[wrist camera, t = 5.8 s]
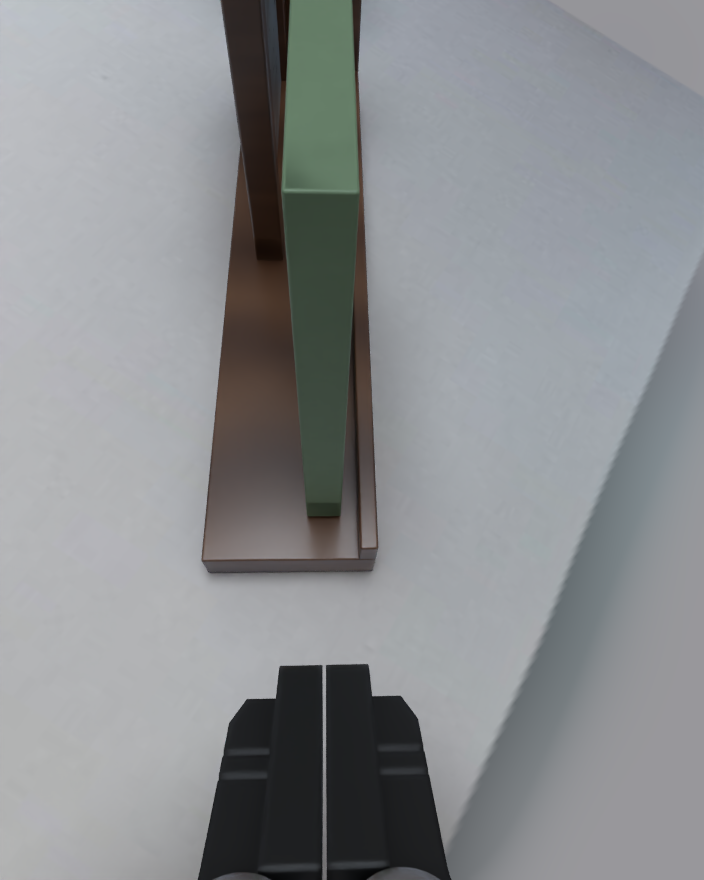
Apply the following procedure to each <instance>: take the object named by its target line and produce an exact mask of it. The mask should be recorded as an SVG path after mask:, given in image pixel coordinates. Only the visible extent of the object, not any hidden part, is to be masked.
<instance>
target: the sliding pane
mask: <svg viewBox="0 0 704 880" xmlns="http://www.w3.org/2000/svg"><path fill="white" fill-rule="evenodd" d="M281 195H282V208H283V220H284V233H285V246H286V258H287V270H288V283H289V296H290V308H291V321H292V334H293V346H294V359H295V372H296V384H297V397H298V410H299V422H300V435H301V448H302V460H303V473H304V486H305V498H306V511H307V516H340V515H341V503H342V486H343V469H344V452H345V434H346V417H347V400H348V383H349V366H350V349H351V332H352V315H353V298H354V281H355V264H356V248H357V231H358V214H359V197H360V187H359V161H358V135H357V110H356V84H355V58H354V32H353V6H352V0H290V10H289V32H288V54H287V76H286V98H285V120H284V142H283V164H282V186H281Z"/></svg>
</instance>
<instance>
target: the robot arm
mask: <svg viewBox="0 0 704 880" xmlns="http://www.w3.org/2000/svg"><path fill="white" fill-rule="evenodd" d="M326 797H327V880H451V878H450V875H449V871H448V868H447V863H446V858H445V853H444V848H443V843H442V838H441V833H440V828H439V823H438V818H437V813H436V808H435V803H434V798H433V793H432V788H431V782H430V777H429V775H428V767H427V762H426V757H425V752H424V751H423V742H422V737H421V732H420V727H419V722H418V718H417V717H416V715H415V714H414V713H413V711H412V710H411V709H410V708H409V706H408V705H407V704H406V702H405V701H404V700H403V698H402V697H401V696H372V691H371V682H370V673H369V665H368V664H351V665H326ZM322 836H323V697H322V665H307V666H280V668H279V676H278V685H277V694H276V699H247V700H246V701H245V703H244V704H243V705H242V707H241V708H240V709H239V711H238V712H237V713H236V715H235V716H234V717H233V719H232V720H231V722H230V723H229V727H228V732H227V737H226V742H225V747H224V756H223V757H222V762H221V767H220V772H219V781H218V783H217V788H216V793H215V798H214V803H213V808H212V813H211V818H210V823H209V828H208V833H207V838H206V843H205V848H204V853H203V858H202V863H201V868H200V873H199V877H198V880H322Z"/></svg>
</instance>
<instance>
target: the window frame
mask: <svg viewBox="0 0 704 880" xmlns="http://www.w3.org/2000/svg"><path fill="white" fill-rule="evenodd" d="M221 6H222V13H223V21H224V28H225V35H226V42H227V49H228V57H229V64H230V71H231V78H232V85H233V93H234V100H235V107H236V114H237V122H238V129H239V136H240V143H241V145H240V156H239V166H238V177H237V188H236V198H235V209H234V219H233V230H232V241H231V251H230V262H229V273H228V283H227V294H226V305H225V315H224V326H223V336H222V347H221V358H220V368H219V379H218V390H217V400H216V411H215V422H214V432H213V443H212V454H211V464H210V475H209V485H208V496H207V507H206V517H205V528H204V539H203V549H202V562H203V564H204V565H205V567H206V568H207V570H208V572H302V571H372V570H373V567H374V563H375V559H376V554H377V550H378V530H377V506H376V483H375V459H374V436H373V412H372V388H371V365H370V341H369V318H368V294H367V271H366V247H365V224H364V200H363V176H362V153H361V129H360V106H359V82H358V62H359V41H360V19H361V0H352V6H353V32H354V58H355V84H356V110H357V135H358V161H359V187H360V197H359V214H358V231H357V248H356V264H355V281H354V298H353V315H352V332H351V349H350V366H349V383H348V400H347V417H346V434H345V452H344V469H343V486H342V503H341V515H340V516H307V511H306V498H305V486H304V473H303V460H302V448H301V435H300V422H299V410H298V397H297V384H296V372H295V359H294V346H293V334H292V321H291V308H290V296H289V283H288V270H287V258H286V246H285V233H284V220H283V208H282V195H281V186H282V164H283V142H284V120H285V98H286V76H287V54H288V32H289V10H290V0H221Z"/></svg>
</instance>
